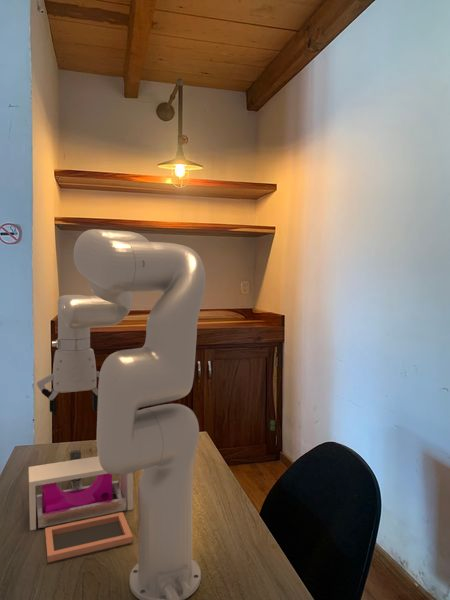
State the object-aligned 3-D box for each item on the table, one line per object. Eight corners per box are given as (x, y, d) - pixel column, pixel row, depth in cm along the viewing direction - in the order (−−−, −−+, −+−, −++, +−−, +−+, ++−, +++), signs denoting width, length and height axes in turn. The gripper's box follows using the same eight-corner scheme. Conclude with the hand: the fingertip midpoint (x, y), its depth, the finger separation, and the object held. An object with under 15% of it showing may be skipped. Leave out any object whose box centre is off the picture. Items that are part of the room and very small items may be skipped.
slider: (126, 509, 103) (126, 473, 102) (38, 528, 95) (37, 489, 95) (112, 476, 119) (111, 444, 119) (36, 489, 112) (35, 456, 111)
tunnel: (132, 509, 104) (132, 464, 103) (30, 530, 95) (29, 482, 94) (125, 493, 111) (125, 451, 111) (29, 511, 102) (28, 466, 102)
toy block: (46, 526, 97) (45, 492, 97) (42, 512, 103) (41, 480, 102) (115, 508, 105) (115, 477, 104) (108, 496, 110) (107, 467, 110)
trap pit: (132, 543, 91) (132, 536, 91) (47, 563, 85) (47, 556, 84) (122, 518, 100) (122, 511, 100) (45, 535, 94) (45, 528, 94)
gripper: (36, 349, 105) (37, 421, 106) (112, 345, 112) (112, 412, 113) (36, 344, 112) (37, 411, 113) (107, 340, 119) (107, 404, 120)
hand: (74, 412), depth 113 cm, fingers open, 9 cm apart
